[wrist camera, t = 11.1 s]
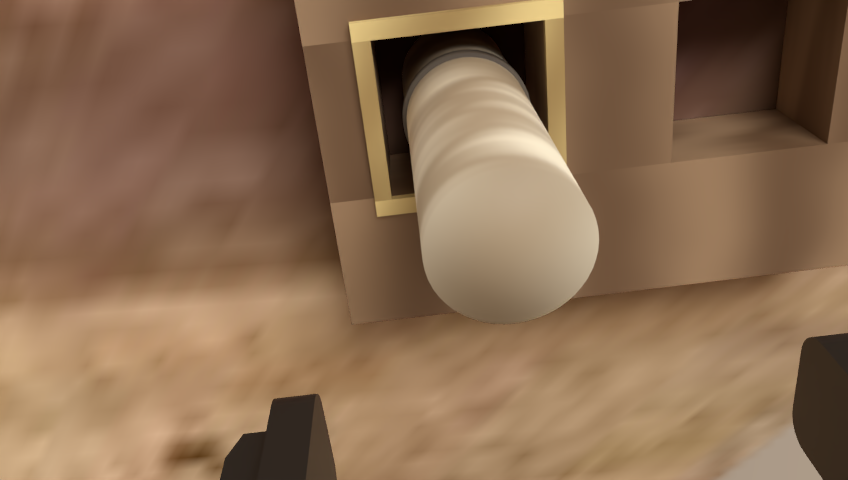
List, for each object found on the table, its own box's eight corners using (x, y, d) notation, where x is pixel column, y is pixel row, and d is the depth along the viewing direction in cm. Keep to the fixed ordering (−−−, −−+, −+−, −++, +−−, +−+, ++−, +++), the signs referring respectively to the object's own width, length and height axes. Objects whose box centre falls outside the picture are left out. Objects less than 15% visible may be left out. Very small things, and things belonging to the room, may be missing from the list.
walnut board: (875, -207, 26) (960, -213, 22) (813, 217, 34) (869, 266, 30) (284, -137, 26) (269, -131, 22) (353, 272, 34) (351, 329, 30)
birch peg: (505, 13, 29) (604, 150, 17) (511, 122, 31) (604, 316, 19) (392, 27, 29) (406, 174, 17) (405, 134, 31) (426, 338, 19)
